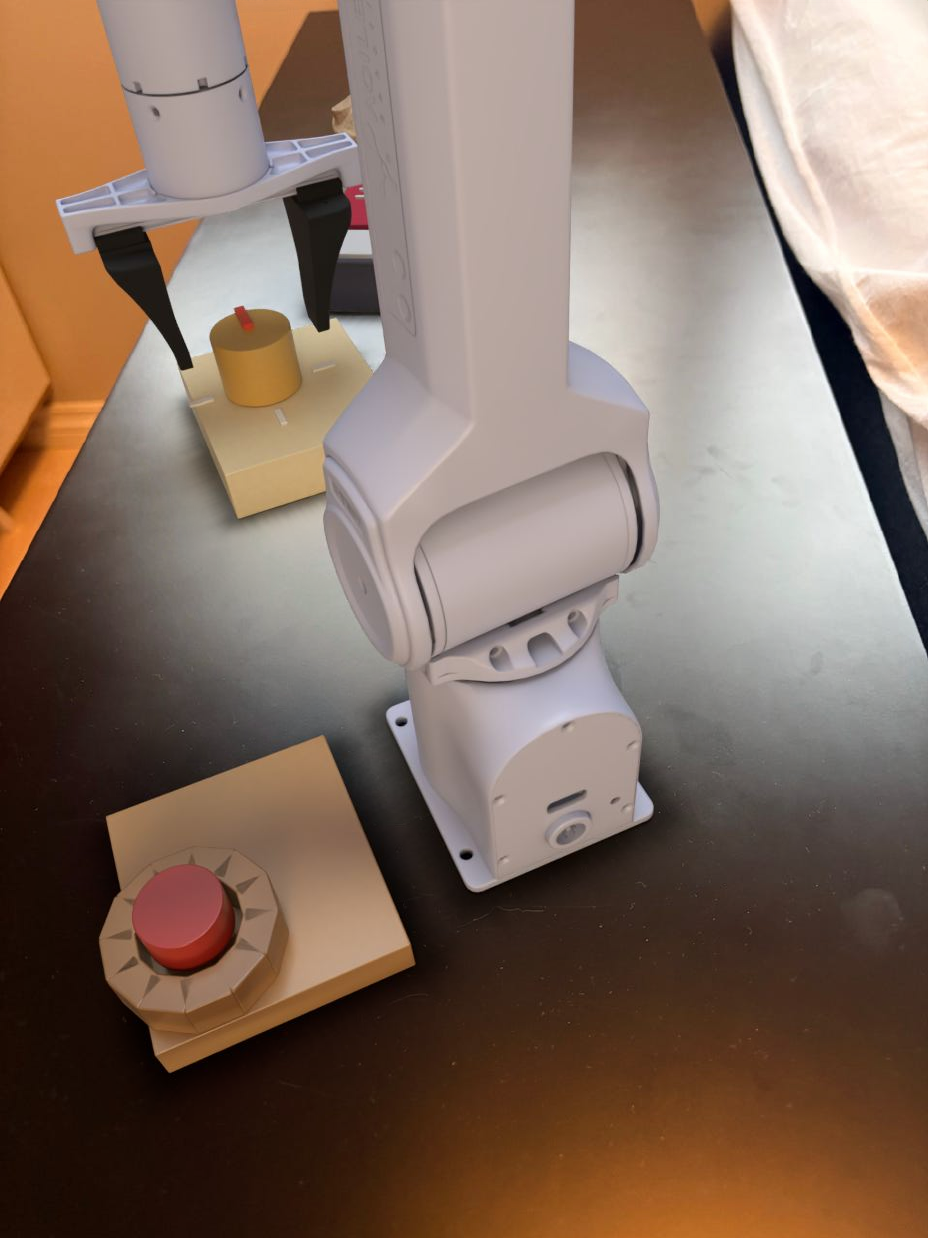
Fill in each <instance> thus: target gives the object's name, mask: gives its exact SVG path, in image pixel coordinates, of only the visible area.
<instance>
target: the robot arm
mask: <svg viewBox="0 0 928 1238" xmlns="http://www.w3.org/2000/svg"><path fill="white" fill-rule="evenodd" d="M336 1H337V8H338V9H337V10H338V16H339V23H340V24H339V25H340V30H341V38H342V43H343V44H342V45H343V53H344V59H345V66H346V74H347V81H348V89H349V95H350V96H351V104H352V111H353V118H354V125H355V133H356V140H357V144H356V143H355V142H354V141H353V140H352V138H351V137H350V136H349V135H348V134H347V133H346V132H344V133H339V134H334V133H333V134H329V135H323V136H317V137H309V138H297V139H286V140H275V141H266V142H265V137H264V132H263V128H262V123H261V118H260V114H259V108H258V103H257V99H256V94H255V88H254V85H253V79H252V74H251V70H250V64H249V61H248V60H249V59H248V55H247V52H246V46H245V41H244V36H243V32H242V26H241V22H240V17H239V13H238V7H237V2H236V0H95V2H96V5H97V9H98V12H99V16H100V19H101V22H102V25H103V30H104V32H105V35H106V39H107V43H108V46H109V49H110V53H111V55H112V59H113V62H114V65H115V69H116V72H117V76H118V79H119V82H120V87H121V90H122V93H123V97H124V100H125V104H126V107H127V111H128V113H129V117H130V120H131V124H132V127H133V130H134V134H135V137H136V140H137V143H138V147H139V151H140V154H141V157H142V160H143V164H144V167H145V168H143V169H140V170H137V171H135V172H132V173H129V174H127V175H124V176H122V177H120V178H117V179H115V180H112V181H110V182H107V183H105V184H102V185H99V186H96V187H94V188H91V189H89V190H85V191H83V192H80V193H76V194H73V195H70V196H69V195H68V196H66V197H62V198H57V199H55V201H54V202H55V206H56V208H57V211H58V214H59V217H60V220H61V222H62V225H63V228H64V230H65V234H66V236H67V238H68V241H69V244H70V247H71V249H72V252H73V254H74V255H75V256H78V255H82V254H86V253H90V252H93V251H95V250H96V249H97V252H98V254H99V256H100V260H101V262H102V265H103V268H104V270H105V271H106V272H107V274H108V275H109V276H110V278H111V279H112V280H113V281H114V283H115V284H116V285H117V286H118V287H119V288H120V289H122V290H123V292H124V293H126V294H127V295H128V297H130V298H131V299H132V300H133V302H135V304H136V305H137V306H138V307H139V308H140V309H141V311H143V312H144V314H145V315H146V316H147V318H148V319H149V320H150V321H151V323H152V324H153V325H154V326H155V327H156V329H157V330H158V332H159V333H160V334H161V336H162V338H163V339H164V340H165V342H166V344H167V345H168V347H169V349H170V351H171V352H172V354H173V356H174V360H175V361H176V364H177V363H178V366H179V368H180V370H182V371H184V370H188V369H191V368H194V367H193V363H192V359H191V358H192V356H191V354H190V350H189V348H188V346H187V344H186V340H185V339H184V337H183V334H182V331H181V329H180V326H179V323H178V322H177V321H178V320H177V318H176V316H175V313H174V310H173V305H172V302H171V299H170V295H169V291H168V289H167V284H166V281H165V277H164V274H163V270H162V266H161V264H160V262H159V259H158V257H157V255H156V253H155V251H154V247H153V245H152V241H151V240H150V238H149V235H148V233H147V232H149V231H155V230H158V229H162V228H167V227H171V226H174V225H178V224H183V223H187V222H191V221H194V220H200V219H202V218H206V217H211V216H217V215H222V214H228V213H230V212H234V211H238V210H241V209H243V208H247V207H251V206H255V205H260V204H264V203H267V202H268V203H269V202H271V201H276V200H279V199H282V202H283V206H284V209H285V212H286V216H287V221H288V224H289V227H290V233H291V236H292V240H293V244H294V248H295V253H296V258H297V264H298V271H299V278H300V285H301V286H300V287H301V292H302V298H303V302H304V307H305V311H306V314H307V317H308V319H309V320H310V322H311V323H312V324H313V325H314V326H315V328H316V329H317V331H318V333H319V332H323V331H327V330H329V329H330V319H331V311H330V303H331V293H332V286H333V279H334V274H335V269H336V265H337V261H338V257H339V254H340V250H341V247H342V245H343V242H344V239H345V236H346V234H347V232H348V230H349V227H350V225H351V218H352V209H351V203H350V200H349V199H348V198H347V196H346V195H345V194H344V188H345V189H347V188H349V187H353V186H357V185H361V184H363V191H364V198H365V205H366V212H367V220H368V227H369V234H370V241H371V249H372V256H373V263H374V270H375V278H376V285H377V292H378V299H379V307H380V312H379V314H380V322H381V327H382V334H383V342H384V349H385V355H384V358H383V359H382V361H381V362H380V364H379V366H377V368H376V370H375V371H374V372H373V373H374V374H373V375H372V377H371V378H370V379H369V380H368V382H367V383H366V384H365V385H364V387H363V388H362V389H361V390H360V391H359V393H358V394H357V395H356V396H355V398H354V399H353V400H352V401H351V403H350V404H349V405H348V406H347V408H346V409H345V410H344V411H343V413H342V414H341V415H340V417H339V418H338V419H337V421H336V422H335V423H334V425H333V426H332V427H331V429H330V430H329V431H328V433H327V434H326V436H325V438H324V440H323V442H322V444H323V448H324V453H325V458H326V459H325V461H324V463H323V473H324V479H325V487H326V491H325V509H324V512H323V516H322V522H323V523H322V525H323V532H324V536H325V541H326V546H327V549H328V552H329V555H330V559H331V562H332V565H333V568H334V572H335V573H336V576H337V579H338V581H339V584H340V586H341V588H342V591H343V593H344V595H345V598H346V600H347V602H348V604H349V606H350V609H351V610H352V613H353V615H354V617H355V619H356V621H357V623H358V624H359V626H360V628H361V629H362V631H363V632H364V634H365V636H366V638H367V639H368V641H369V642H370V644H371V645H372V647H373V648H374V649H375V650H376V651H377V653H378V654H379V655H380V656H381V657H383V659H385V660H387V661H389V662H392V663H394V664H396V665H398V666H399V667H401V668H403V669H404V676H405V682H406V687H407V692H408V699H407V700H405V701H403V702H400V703H397V704H394V705H391V706H390V707H388V709H387V710H386V713H385V718H386V722H387V725H388V726H389V729H390V730H391V731H390V732H391V733H392V735H393V737H394V739H395V741H396V743H397V745H398V747H399V750H400V752H401V754H402V756H403V759H404V761H405V762H406V764H407V766H408V769H409V771H410V773H411V775H412V777H413V779H414V781H415V783H416V785H417V788H418V789H419V791H420V793H421V796H422V798H423V800H424V802H425V804H426V806H427V808H428V810H429V813H430V814H431V817H432V819H433V821H434V823H435V826H436V827H437V829H438V831H439V833H440V835H441V837H442V840H443V842H444V844H445V846H446V848H447V851H448V852H449V854H450V857H451V859H452V861H453V863H454V865H455V867H456V869H457V871H458V873H459V875H460V877H461V879H462V883H464V885H465V887H466V888H467V890H470V892H473V893H480V892H481V893H482V892H484V891H486V890H489V889H491V888H493V887H495V886H498V885H500V884H503V883H505V882H507V881H510V880H512V879H514V878H516V877H519V876H521V875H524V874H525V873H529V872H530V871H533V870H535V869H538V868H540V867H542V866H544V865H547V864H549V863H551V862H553V861H556V860H559V859H561V858H563V857H565V856H568V855H570V854H572V853H575V852H578V851H580V850H582V849H584V848H587V847H589V846H592V845H594V844H596V843H598V842H601V841H602V840H605V839H608V838H609V837H612V836H614V835H617V834H619V833H621V832H624V831H626V830H628V829H630V828H633V827H635V826H637V825H640V824H642V823H645V822H648V820H650V819H651V818H652V817H653V815H654V808H655V807H654V803H653V801H652V799H651V797H650V796H649V795H648V793H647V792H646V791H645V789H644V788H643V786H642V784H641V783H640V781H639V773H640V766H641V765H640V763H641V755H642V754H641V753H642V745H643V731H642V727H641V724H640V722H639V719H638V718H637V716H636V715H635V713H634V712H633V710H632V708H631V707H630V705H629V704H628V703H627V701H626V699H625V697H624V696H623V694H622V692H621V690H620V689H619V687H618V686H617V684H616V682H615V681H614V679H613V676H612V673H611V671H610V668H609V666H608V662H607V660H606V657H605V653H604V652H605V651H604V647H603V642H602V638H601V626H600V625H601V624H600V616H601V615H602V614H603V612H604V611H605V610H607V609H608V608H609V607H612V605H614V604H616V603H617V602H618V600H619V587H620V586H619V585H620V575H619V574H629V573H631V572H633V571H635V570H637V569H639V568H642V567H643V566H645V564H647V563H648V561H650V560H651V558H652V556H653V554H654V553H655V549H656V546H657V542H658V539H659V538H658V537H659V530H660V529H659V527H660V520H661V505H660V495H659V489H658V485H657V481H656V477H655V474H654V471H653V468H652V463H651V458H650V450H649V427H650V419H651V418H650V415H651V414H650V410H649V409H648V407H647V406H646V404H645V403H644V402H643V400H642V399H641V397H640V396H639V395H638V393H637V392H636V391H635V389H634V388H633V386H632V385H631V383H630V382H629V381H628V380H627V379H626V378H625V376H623V374H621V373H620V371H618V369H616V368H615V367H614V366H613V365H612V364H611V363H610V362H609V361H607V360H605V359H604V358H603V357H601V356H600V355H599V354H598V353H596V352H594V351H592V350H590V349H588V348H586V347H584V346H582V345H580V344H578V343H576V342H574V341H571V340H570V299H571V298H570V295H571V292H570V291H571V244H572V243H571V239H572V238H571V237H572V232H571V231H572V187H573V185H572V181H573V180H572V179H573V178H572V177H573V175H572V173H573V127H574V126H573V125H574V124H573V123H574V122H573V121H574V119H573V118H574V114H573V113H574V66H575V65H574V62H575V61H574V60H575V8H576V7H575V6H576V5H575V2H576V1H575V0H336ZM178 366H177V367H178ZM402 723H404V725H403V726H399V724H402ZM465 854H469V855H472V857H471V858H468V859H463V858H462V856H463V855H465Z"/></svg>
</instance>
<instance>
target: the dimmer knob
mask: <svg viewBox="0 0 928 1238" xmlns="http://www.w3.org/2000/svg"><path fill="white" fill-rule="evenodd" d="M233 311H234V313H232V314H231V313H230V314H229V315H226V316H225V317H223V318H221V319H220V320H218V322H216V323H215V324H214V325H213V326H212V328H211V329H210V332H209V336H208V337H209V338H208V339H209V343H210V346H211V350H212V352H213V353H214V357H215V360H216V364H217V367H218V370H219V374H220V377H221V381H222V384H223V388H224V391H225V394H226V396H227V397H228V398H229V399H230V400H231V401H232V402H234V403H236V404H239V405H243V406H250V407H259V406H267V405H271V404H275V403H278V402H280V401H283V400H285V399H286V398H288V397H290V396H291V395H292V394H294V393H295V392H296V391H297V390H298V388H299V387H300V385H301V381H302V376H301V372H300V367H299V362H298V358H297V353H296V349H295V344H294V339H293V335H292V330H293V329H292V326H291V322H290V320H289V319H288V317H287V316H286V315H285V314H283V313H281V312H279V311H277V310H274V309H267V308H250V309H246V308H245V306H244V305H239V306H236V307H233Z"/></svg>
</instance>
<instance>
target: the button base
mask: <svg viewBox="0 0 928 1238" xmlns="http://www.w3.org/2000/svg"><path fill="white" fill-rule="evenodd" d="M105 820H106V826H107V830H108V835H109V840H110V845H111V850H112V854H113V859H114V864H115V869H116V874H117V879H118V883H119V889H120V892H118V893H117V895H116V896H115V897H114V898H113V900H112V903H111V905H110V908H109V911H108V913H107V916H106V919H105V921H104V924H103V926H102V929H101V932H100V934H99V936H98V944H99V951H100V956H101V961H102V967H103V972H104V978H105V981H106V983H107V984H108V986H109V988H111V989H112V991H113V992H114V993H115V994H116V996H117V997H118V998H119V1000H120V1001H121V1002H122V1003H123V1004H124V1005H125V1006H126V1007H127V1008H128V1009H129V1010H130V1011H131V1012H132V1013H134V1015H136V1016H137V1017H138V1018H139V1019H141V1021H143V1022H144V1023H145V1024H146V1025H147V1026H148V1029H149V1035H150V1040H151V1044H152V1049H153V1055H154V1056H155V1057H156V1059H157V1060H158V1061H159V1062H160V1064H162V1066H163V1067H164V1069H165V1070H166V1071H167V1072H168V1074H170V1073H173V1072H175V1071H177V1070H180V1069H182V1068H184V1067H187V1066H189V1065H192V1064H193V1063H197V1062H198V1061H200V1060H203V1059H204V1058H207V1057H209V1056H212V1055H213V1054H216V1053H219V1052H221V1051H223V1050H226V1049H228V1048H230V1047H232V1046H234V1045H236V1044H239V1043H241V1042H243V1041H246V1040H248V1039H250V1038H253V1037H254V1036H257V1035H260V1034H262V1033H263V1032H266V1031H269V1030H271V1029H273V1028H275V1027H277V1026H279V1025H280V1026H281V1025H282V1024H284V1023H287V1022H288V1021H291V1020H293V1019H296V1018H297V1017H300V1016H302V1015H304V1014H307V1013H309V1012H311V1011H314V1010H317V1009H319V1008H320V1007H322V1006H325V1005H328V1004H330V1003H332V1002H334V1001H336V1000H339V999H341V998H343V997H345V996H348V995H350V994H352V993H355V992H357V991H359V990H361V989H363V988H366V987H368V986H371V985H373V984H374V983H377V982H380V981H381V980H384V979H386V978H389V977H391V976H393V975H395V974H397V973H400V972H403V971H405V970H406V969H409V968H411V967H413V966H415V965H416V960H415V956H414V951H413V948H412V947H413V946H412V944H411V941H410V938H409V936H408V934H407V931H406V929H405V927H404V923H403V921H402V919H401V918H400V914H399V912H398V909H397V907H396V905H395V903H394V900H393V898H392V895H391V893H390V890H389V888H388V886H387V883H386V881H385V878H384V876H383V874H382V871H381V869H380V867H379V864H378V862H377V859H376V857H375V854H374V852H373V849H372V847H371V845H370V842H369V839H368V837H367V835H366V832H365V830H364V828H363V826H362V823H361V821H360V819H359V816H358V814H357V811H356V809H355V806H354V804H353V801H352V799H351V797H350V794H349V792H348V790H347V786H346V785H345V782H344V780H343V778H342V775H341V773H340V770H339V767H338V765H337V763H336V761H335V758H334V756H333V753H332V750H331V748H330V746H329V744H328V742H327V739H326V737H325V735H324V734H321V735H319V736H316V737H314V738H311V739H308V740H305V741H302V742H300V743H298V744H294V745H292V746H289V747H287V748H284V749H281V750H279V751H277V752H273V753H271V754H269V755H268V754H267V755H265V756H263V757H260V758H257V759H255V760H252V761H250V762H247V763H244V764H242V765H239V766H237V767H233V768H231V769H229V770H226V771H223V772H220V773H217V774H215V775H212V776H210V777H207V778H204V779H201V780H199V781H196V782H194V783H191V784H189V785H186V786H183V787H180V788H178V789H176V790H175V789H174V790H173V791H170V792H167V793H165V794H161V795H160V796H157V797H154V798H151V799H150V800H149V799H148V800H146V801H143V802H141V803H138V804H135V805H132V806H130V807H127V808H125V809H122V810H120V811H116V812H114V813H111V814H109V815H106V816H105ZM184 864H192V865H198V866H202V867H204V868H206V869H208V870H210V871H211V872H212V873H214V874H215V875H216V877H217V878H218V879H219V881H220V883H221V885H222V887H223V889H224V890H225V892H226V894H227V896H228V898H229V900H230V902H231V904H232V906H233V909H234V912H235V920H236V922H235V929H234V933H233V936H232V938H231V940H230V942H229V944H228V946H227V947H226V949H225V950H224V951H223V952H222V953H221V954H220V955H219V956H218V957H217V958H216V959H215V960H213V961H212V962H211V963H209V964H207V965H205V966H203V967H201V968H198V969H196V970H191V971H173V970H169V969H166V968H164V967H162V966H161V965H159V964H158V963H157V962H156V961H155V960H154V959H153V957H152V956H151V954H150V953H149V951H148V950H147V949H146V947H145V946H144V944H143V943H142V941H141V940H140V938H139V937H138V935H137V934H136V932H135V930H134V927H133V924H132V910H133V905H134V902H135V900H136V897H137V895H138V894H139V892H140V890H141V889H142V888H143V886H144V885H145V884H146V883H147V882H148V881H149V880H150V879H151V878H152V877H154V876H155V875H157V874H158V873H160V872H161V871H163V870H165V869H168V868H170V867H173V866H177V865H184Z"/></svg>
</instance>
